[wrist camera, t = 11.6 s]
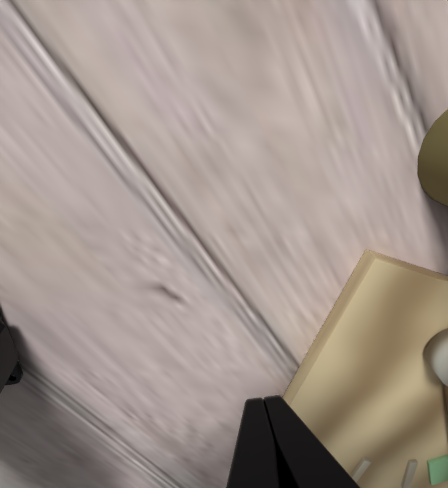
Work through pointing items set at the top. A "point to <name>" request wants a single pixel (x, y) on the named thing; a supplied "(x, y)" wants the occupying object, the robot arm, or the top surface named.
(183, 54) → the top surface
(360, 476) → the wooden board
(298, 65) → the top surface
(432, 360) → the peg
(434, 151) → the olive pawn
